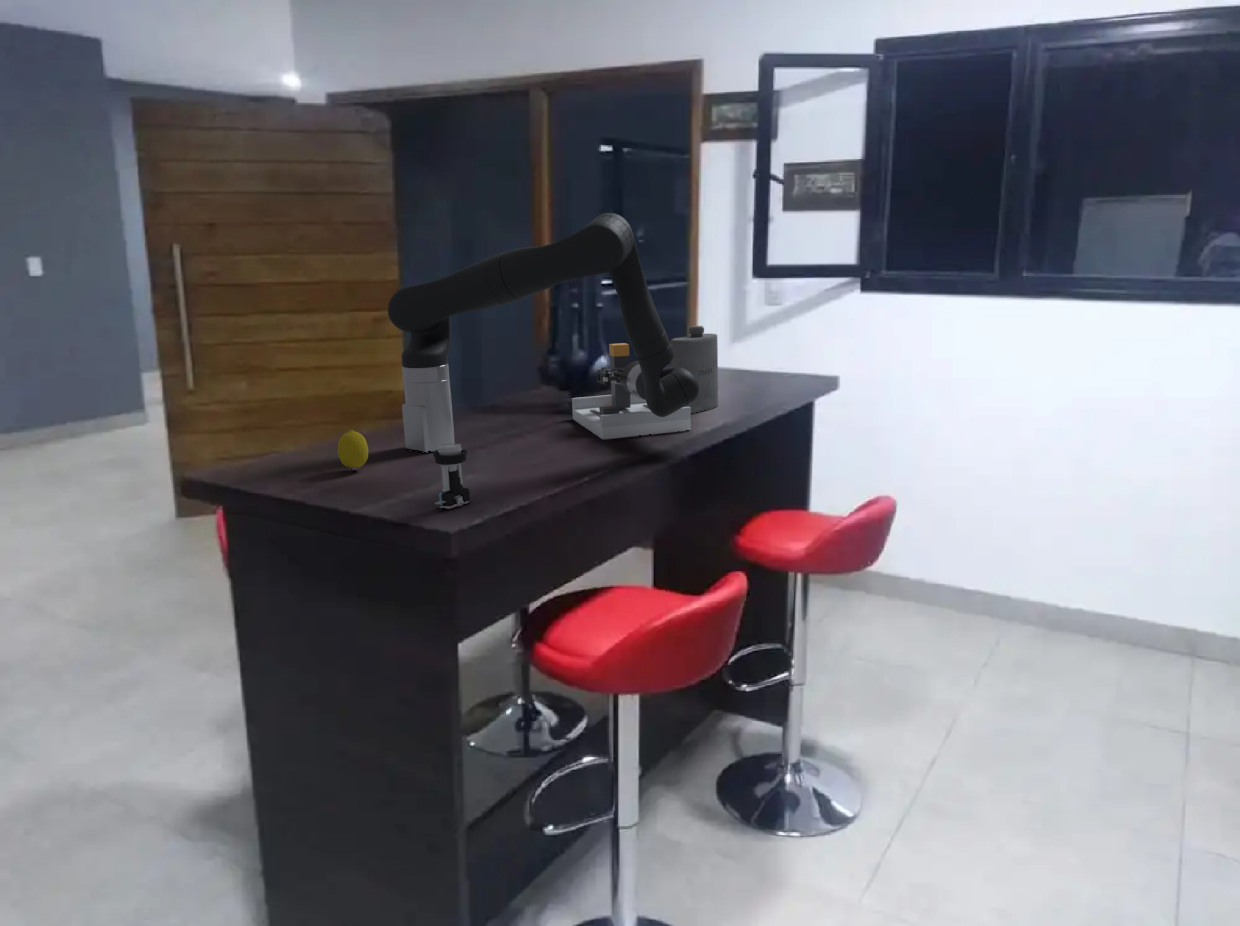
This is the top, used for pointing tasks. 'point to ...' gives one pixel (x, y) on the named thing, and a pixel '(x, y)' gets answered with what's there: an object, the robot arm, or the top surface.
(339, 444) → the lemon
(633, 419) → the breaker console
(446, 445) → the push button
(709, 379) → the flask
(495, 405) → the top surface
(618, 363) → the handle
